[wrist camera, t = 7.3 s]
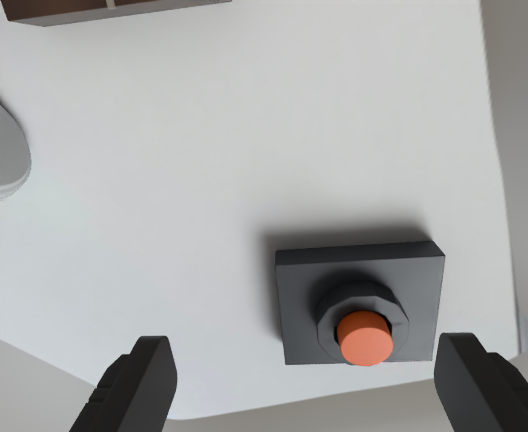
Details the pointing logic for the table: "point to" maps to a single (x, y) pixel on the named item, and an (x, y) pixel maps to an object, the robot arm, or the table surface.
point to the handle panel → (87, 9)
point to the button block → (358, 297)
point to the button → (364, 338)
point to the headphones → (12, 156)
